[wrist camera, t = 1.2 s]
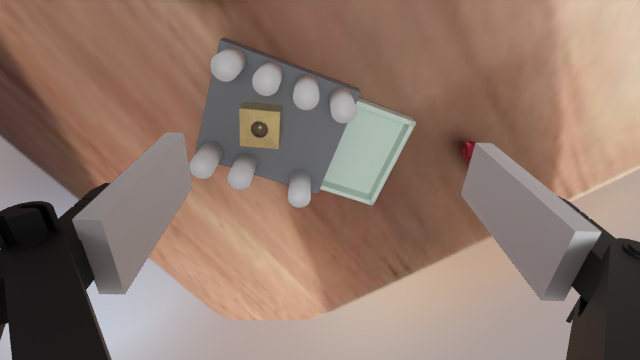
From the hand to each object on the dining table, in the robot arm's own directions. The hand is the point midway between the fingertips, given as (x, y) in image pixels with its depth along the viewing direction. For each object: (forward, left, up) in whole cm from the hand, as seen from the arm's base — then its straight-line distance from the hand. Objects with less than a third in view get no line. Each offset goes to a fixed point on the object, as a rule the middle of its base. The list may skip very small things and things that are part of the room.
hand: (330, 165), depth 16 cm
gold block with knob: (-4, -9, -26) cm, 28 cm away
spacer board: (-3, -9, -28) cm, 30 cm away
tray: (+10, -9, -28) cm, 31 cm away
